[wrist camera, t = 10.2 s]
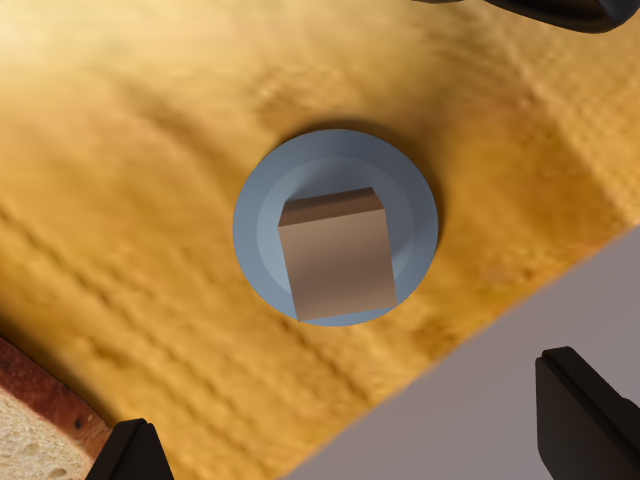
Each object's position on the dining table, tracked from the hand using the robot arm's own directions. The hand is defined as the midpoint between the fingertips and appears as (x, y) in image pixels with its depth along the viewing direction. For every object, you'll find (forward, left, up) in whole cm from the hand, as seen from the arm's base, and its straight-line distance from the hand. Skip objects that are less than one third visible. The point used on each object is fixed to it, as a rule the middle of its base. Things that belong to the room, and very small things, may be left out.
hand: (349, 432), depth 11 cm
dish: (0, 0, -17) cm, 17 cm away
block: (0, 0, -16) cm, 16 cm away
